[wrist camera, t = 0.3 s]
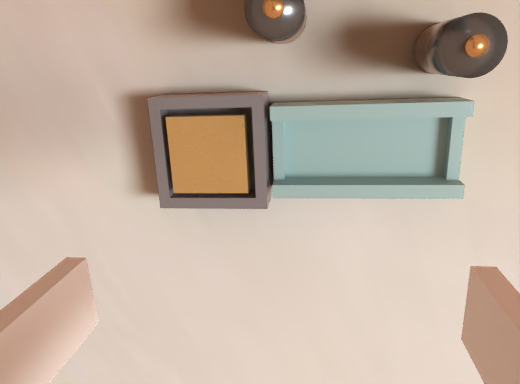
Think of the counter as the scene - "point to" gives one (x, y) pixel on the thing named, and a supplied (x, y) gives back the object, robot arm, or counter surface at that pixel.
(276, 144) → the trough
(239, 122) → the orange square tile
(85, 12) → the counter surface
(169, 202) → the grey square tray
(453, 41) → the cell
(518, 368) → the robot arm
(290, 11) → the cell
